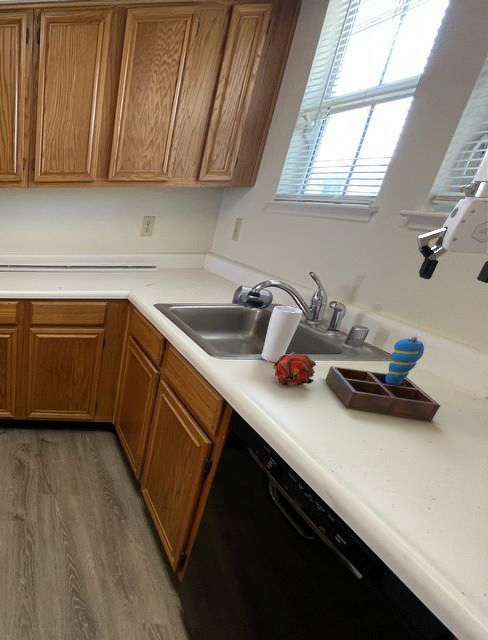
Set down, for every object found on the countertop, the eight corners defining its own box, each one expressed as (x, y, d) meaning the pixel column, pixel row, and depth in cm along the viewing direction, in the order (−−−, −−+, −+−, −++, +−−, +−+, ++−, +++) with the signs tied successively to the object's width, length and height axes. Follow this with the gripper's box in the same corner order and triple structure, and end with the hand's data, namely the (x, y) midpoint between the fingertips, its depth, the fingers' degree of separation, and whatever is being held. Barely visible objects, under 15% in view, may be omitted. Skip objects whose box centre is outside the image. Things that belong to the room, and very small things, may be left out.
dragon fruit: (293, 380, 112) (285, 402, 104) (269, 357, 113) (259, 377, 106) (325, 363, 105) (319, 385, 98) (299, 339, 106) (291, 359, 99)
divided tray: (398, 390, 104) (405, 376, 102) (431, 421, 91) (440, 405, 89) (324, 380, 109) (330, 365, 107) (346, 407, 96) (353, 392, 94)
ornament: (371, 391, 101) (399, 333, 95) (375, 385, 105) (402, 328, 98) (400, 399, 98) (430, 340, 91) (402, 392, 101) (432, 334, 95)
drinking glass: (254, 353, 124) (269, 304, 118) (279, 355, 123) (296, 306, 116) (262, 362, 118) (279, 311, 112) (289, 365, 117) (307, 313, 110)
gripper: (449, 192, 81) (410, 280, 88) (572, 193, 75) (520, 287, 83) (429, 191, 87) (394, 273, 95) (541, 192, 82) (495, 279, 89)
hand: (453, 279), depth 89 cm, fingers open, 9 cm apart
